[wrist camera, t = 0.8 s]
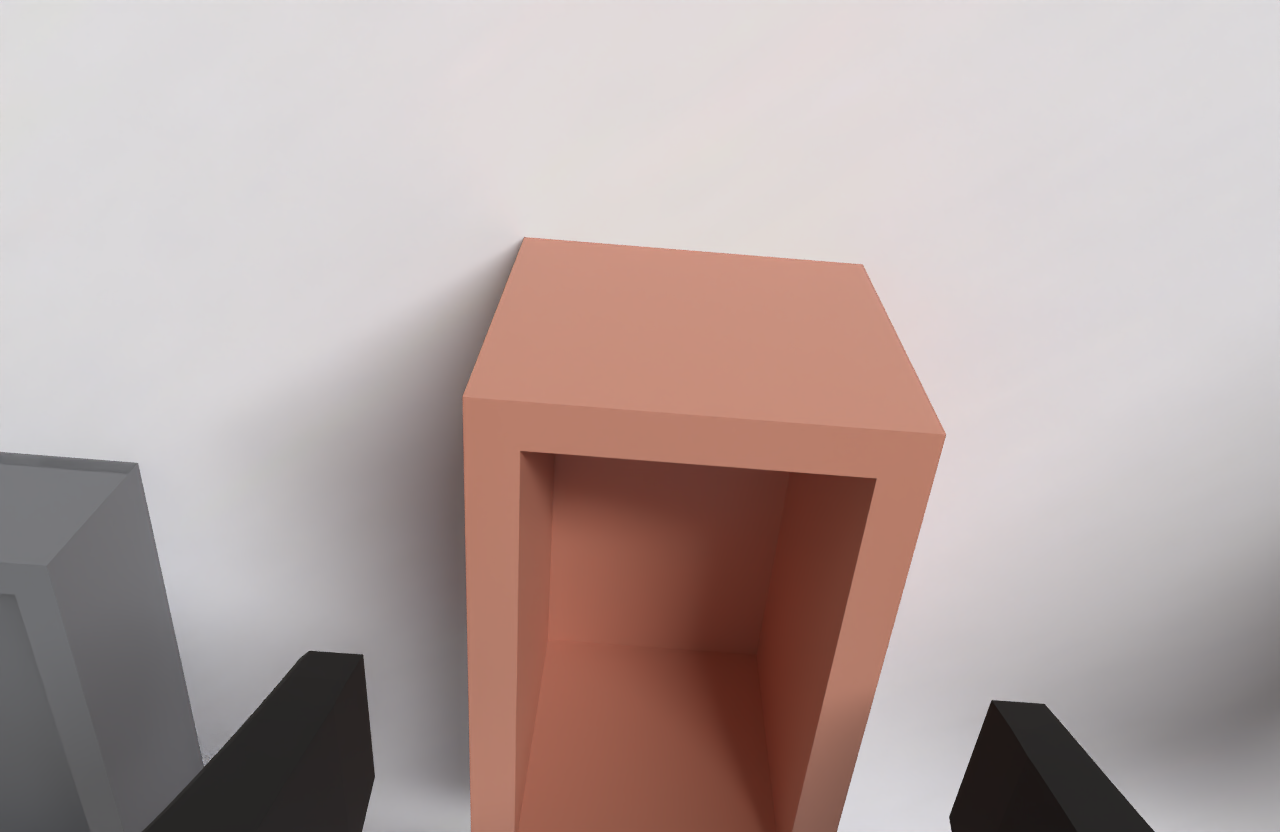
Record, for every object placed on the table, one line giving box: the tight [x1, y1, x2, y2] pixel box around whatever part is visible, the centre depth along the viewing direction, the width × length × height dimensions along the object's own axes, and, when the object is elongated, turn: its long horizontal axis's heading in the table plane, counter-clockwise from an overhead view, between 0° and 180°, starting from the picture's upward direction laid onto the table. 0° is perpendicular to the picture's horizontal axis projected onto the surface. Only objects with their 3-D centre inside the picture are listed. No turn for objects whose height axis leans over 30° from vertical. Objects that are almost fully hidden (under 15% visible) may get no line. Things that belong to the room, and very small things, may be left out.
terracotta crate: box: [463, 237, 946, 832], centre depth 14 cm, size 8×5×5 cm, turn 176°
